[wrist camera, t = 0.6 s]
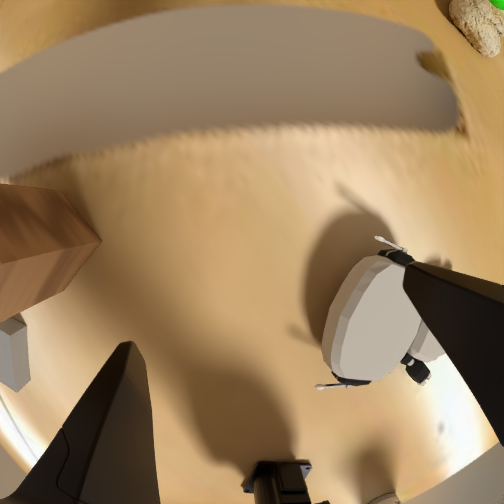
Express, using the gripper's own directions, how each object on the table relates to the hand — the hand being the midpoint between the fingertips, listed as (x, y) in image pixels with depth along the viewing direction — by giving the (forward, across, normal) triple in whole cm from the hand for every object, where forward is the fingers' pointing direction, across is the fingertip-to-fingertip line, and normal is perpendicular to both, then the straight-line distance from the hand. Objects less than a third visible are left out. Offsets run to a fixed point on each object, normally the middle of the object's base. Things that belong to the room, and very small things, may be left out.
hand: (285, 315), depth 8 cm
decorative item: (+19, -39, -20) cm, 48 cm away
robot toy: (+9, -13, +13) cm, 20 cm away
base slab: (+14, +26, +9) cm, 31 cm away
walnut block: (+16, +14, +1) cm, 21 cm away
